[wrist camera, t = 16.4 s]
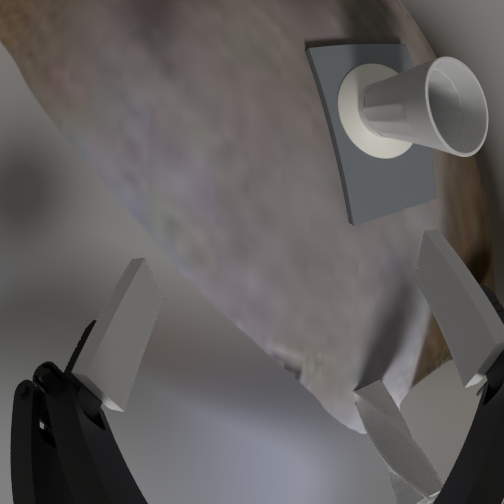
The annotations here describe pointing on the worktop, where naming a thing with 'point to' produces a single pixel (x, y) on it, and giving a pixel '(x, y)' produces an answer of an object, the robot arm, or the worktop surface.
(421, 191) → the board
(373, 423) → the skyscraper
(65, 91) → the worktop surface
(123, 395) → the robot arm
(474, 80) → the cup
